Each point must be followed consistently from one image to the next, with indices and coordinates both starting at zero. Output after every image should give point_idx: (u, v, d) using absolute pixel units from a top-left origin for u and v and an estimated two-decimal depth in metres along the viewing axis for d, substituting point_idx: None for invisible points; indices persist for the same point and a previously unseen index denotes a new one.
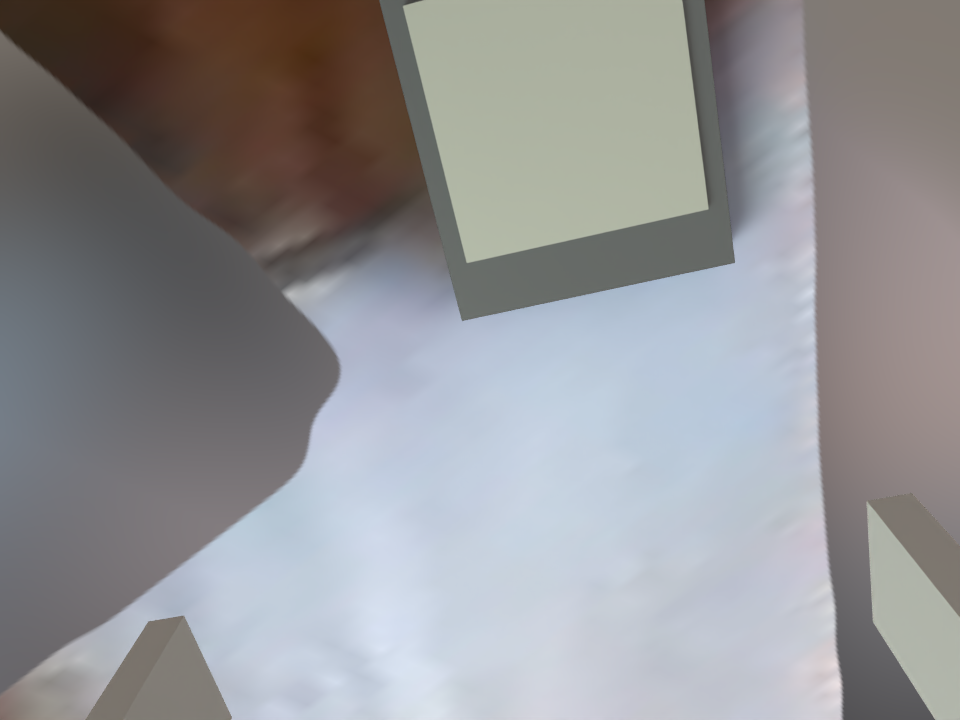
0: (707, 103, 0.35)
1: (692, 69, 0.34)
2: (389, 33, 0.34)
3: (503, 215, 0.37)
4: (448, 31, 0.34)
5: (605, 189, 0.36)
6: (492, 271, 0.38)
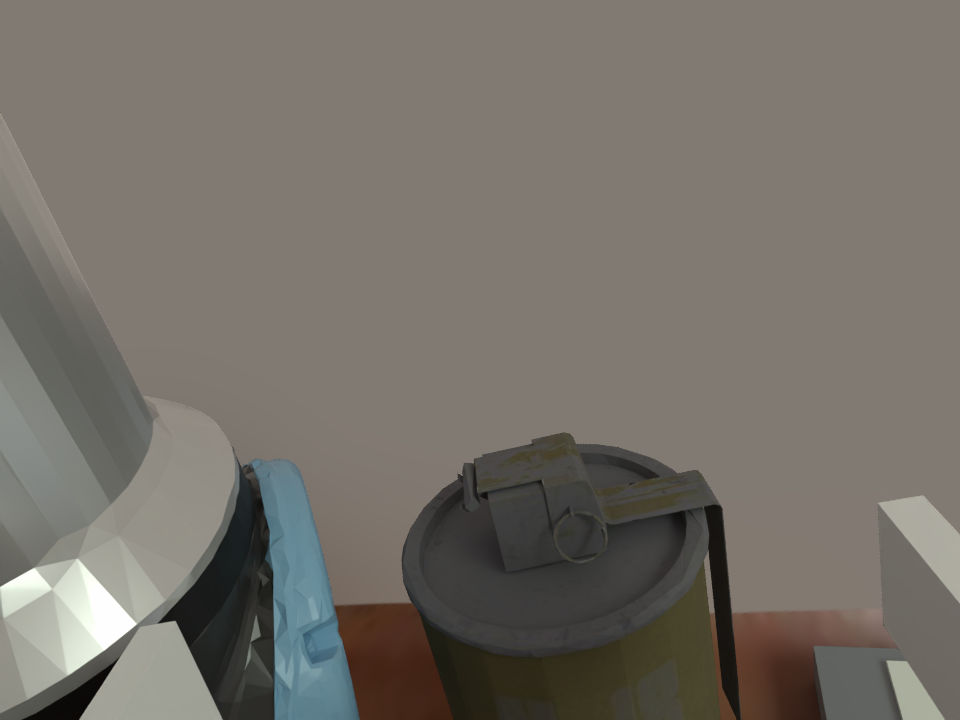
0: None
1: None
2: None
3: None
4: None
5: None
6: None
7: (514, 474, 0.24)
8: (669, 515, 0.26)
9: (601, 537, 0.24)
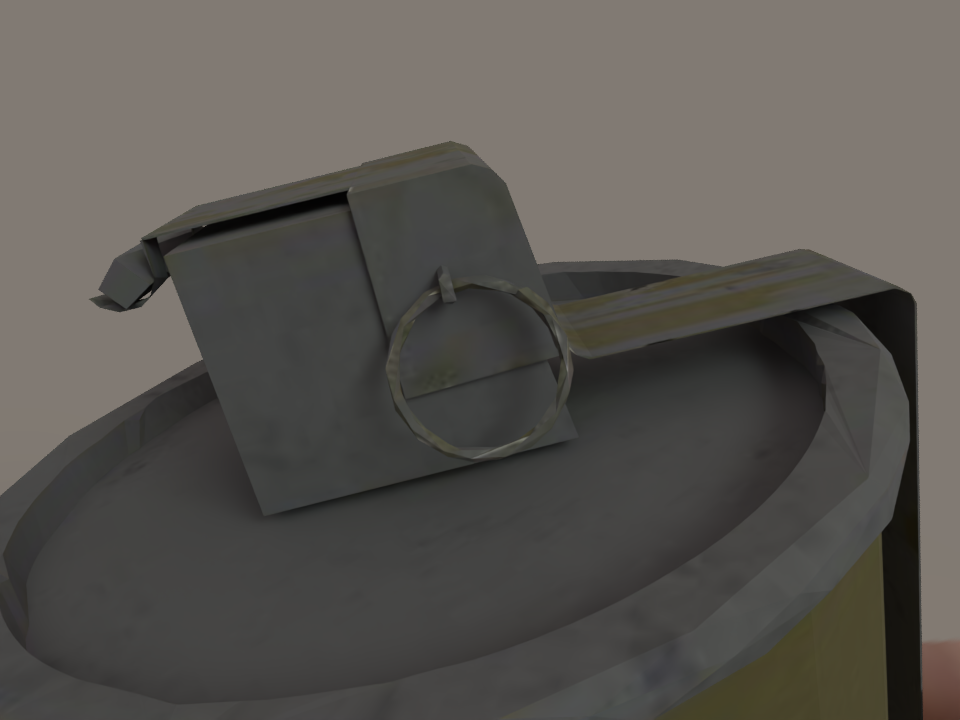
0: None
1: None
2: None
3: None
4: None
5: None
6: None
7: (275, 200, 0.08)
8: (748, 354, 0.09)
9: (555, 391, 0.08)
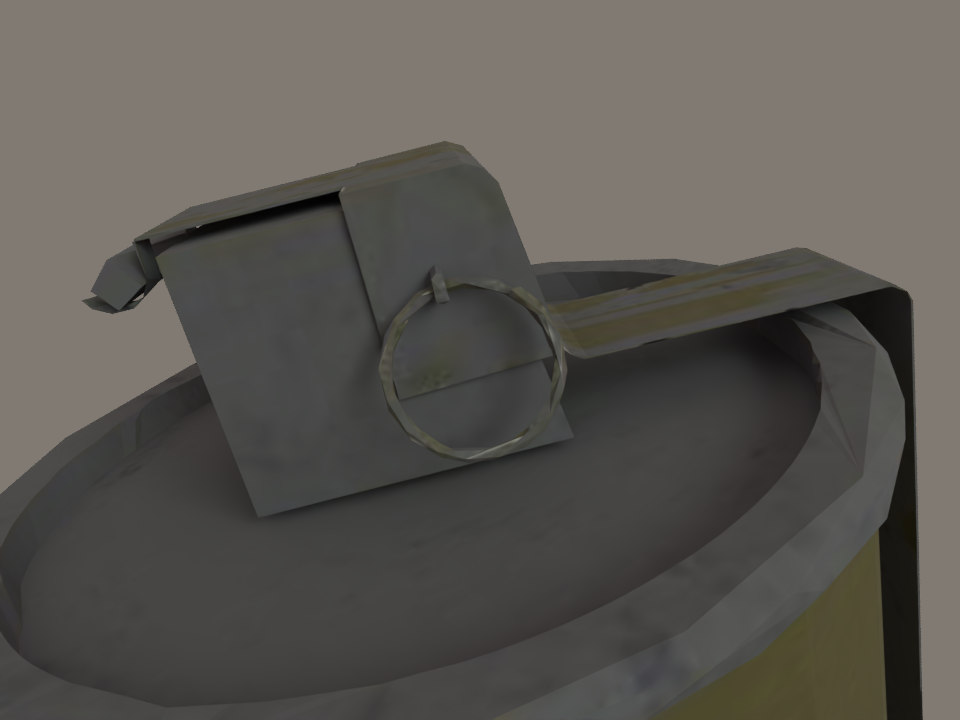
0: None
1: None
2: None
3: None
4: None
5: None
6: None
7: (269, 200, 0.08)
8: (745, 353, 0.09)
9: (550, 391, 0.08)
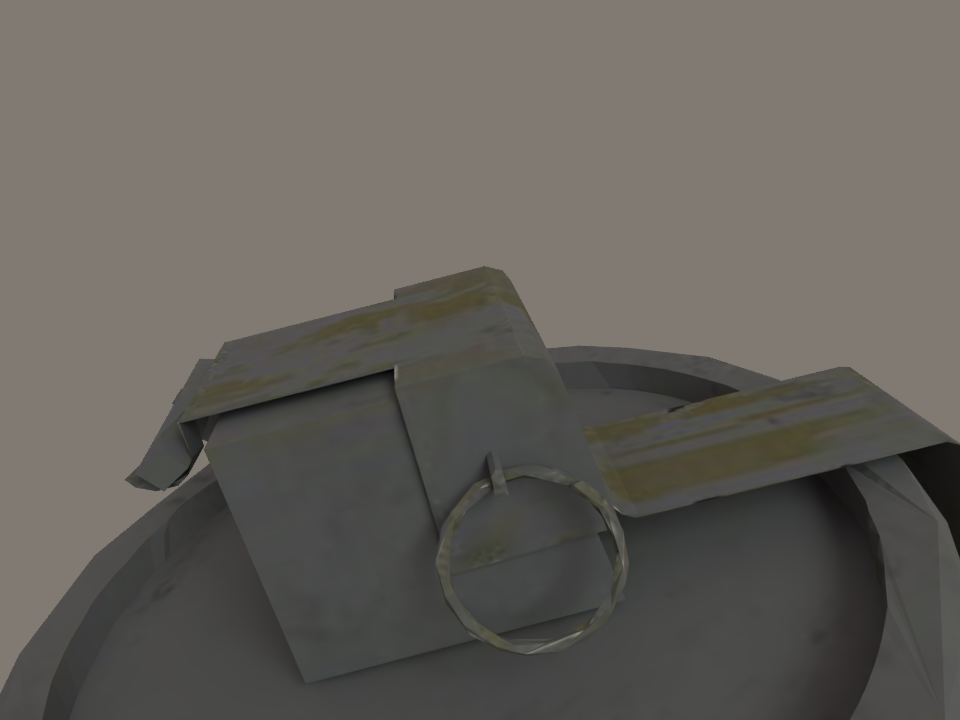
0: None
1: None
2: None
3: None
4: None
5: None
6: None
7: (314, 366, 0.07)
8: (791, 488, 0.09)
9: (603, 558, 0.08)
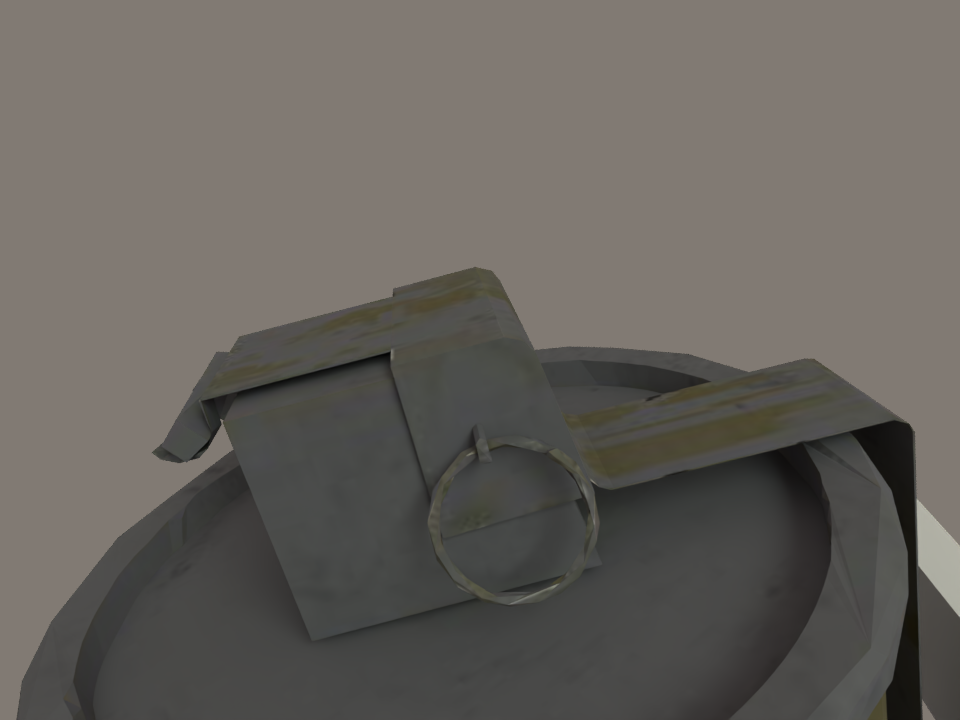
0: None
1: None
2: None
3: None
4: None
5: None
6: None
7: (319, 351, 0.08)
8: (758, 468, 0.10)
9: (580, 525, 0.08)
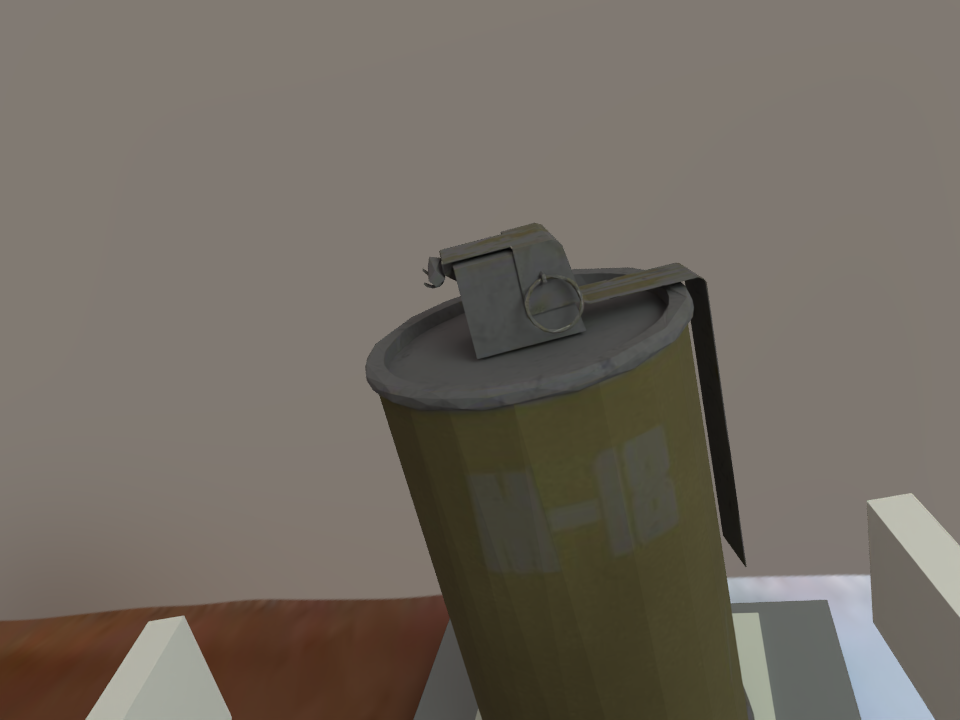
0: None
1: None
2: None
3: None
4: None
5: None
6: None
7: (481, 250, 0.22)
8: (651, 303, 0.24)
9: (578, 314, 0.22)
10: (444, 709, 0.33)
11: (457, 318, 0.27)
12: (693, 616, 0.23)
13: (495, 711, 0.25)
